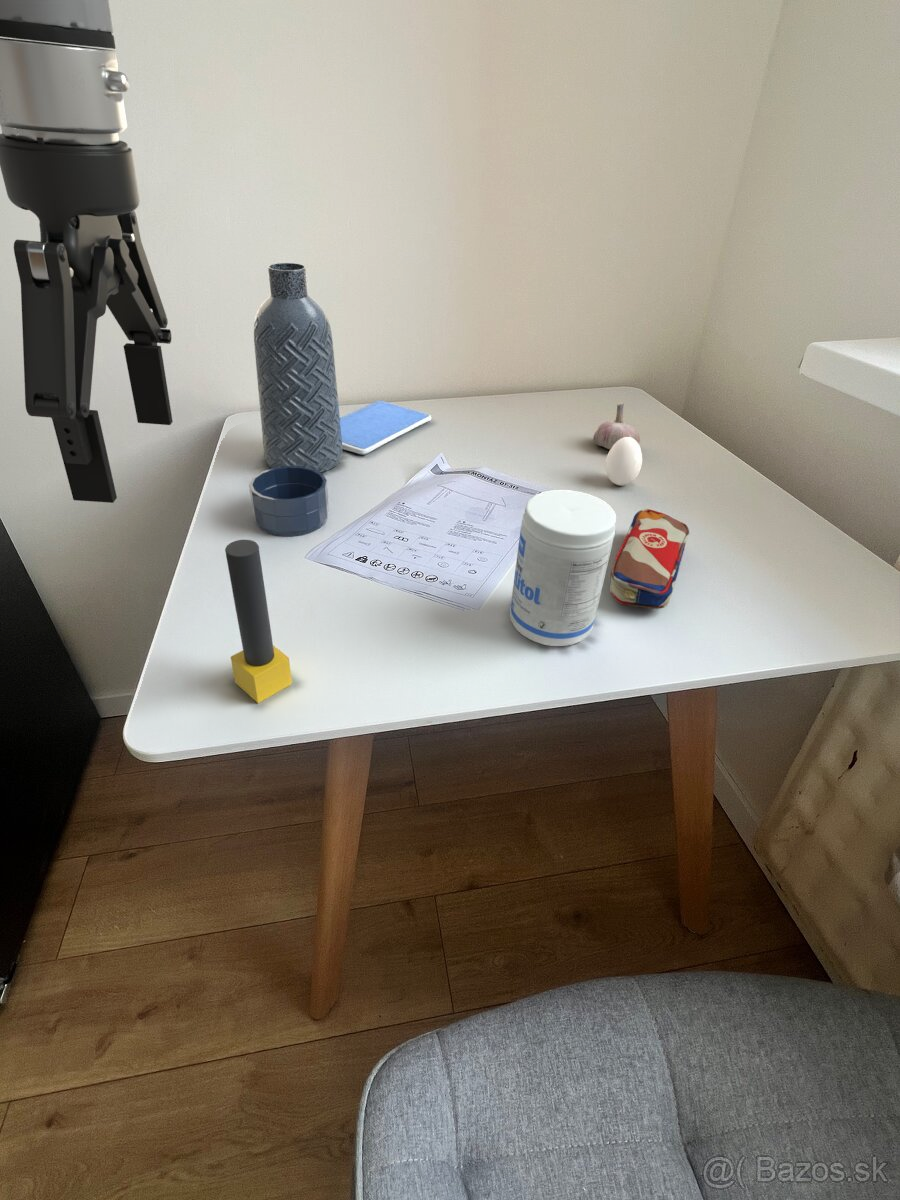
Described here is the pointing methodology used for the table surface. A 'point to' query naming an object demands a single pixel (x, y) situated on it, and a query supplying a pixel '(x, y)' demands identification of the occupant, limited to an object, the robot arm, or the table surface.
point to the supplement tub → (561, 566)
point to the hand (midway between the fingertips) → (128, 457)
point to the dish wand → (254, 626)
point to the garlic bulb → (614, 431)
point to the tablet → (377, 425)
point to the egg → (624, 461)
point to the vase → (296, 375)
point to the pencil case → (649, 560)
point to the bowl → (289, 500)
